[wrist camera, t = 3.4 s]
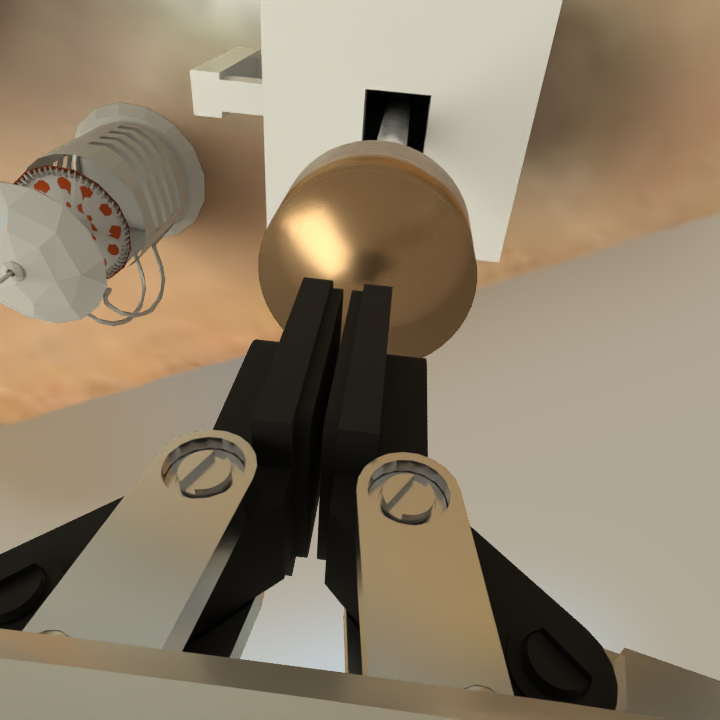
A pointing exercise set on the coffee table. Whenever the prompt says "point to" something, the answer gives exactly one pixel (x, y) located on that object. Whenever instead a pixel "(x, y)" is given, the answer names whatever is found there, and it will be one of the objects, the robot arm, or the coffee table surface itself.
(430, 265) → the plunger
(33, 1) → the coffee table surface
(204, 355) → the coffee table surface
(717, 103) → the coffee table surface
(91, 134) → the french press
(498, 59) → the socket block
